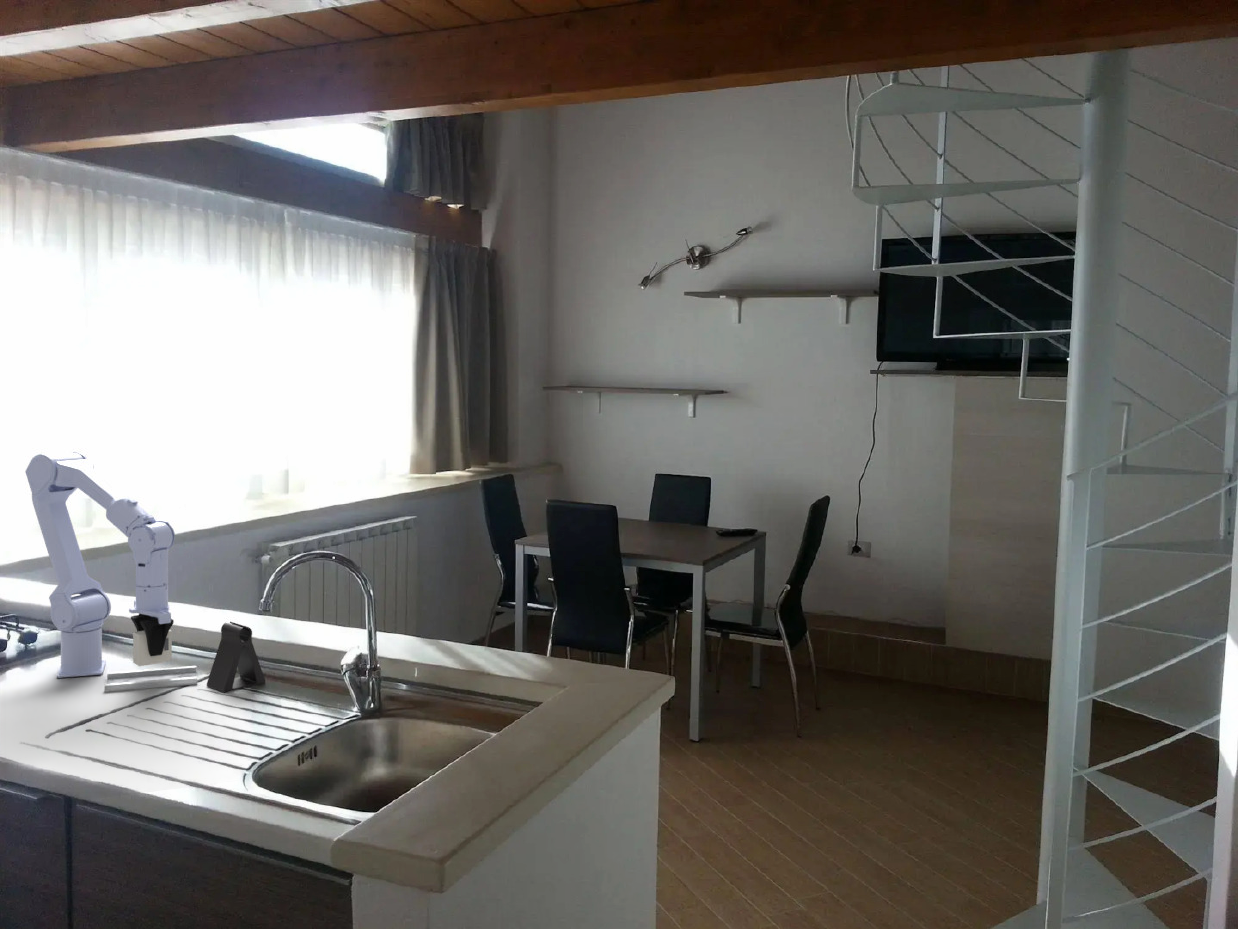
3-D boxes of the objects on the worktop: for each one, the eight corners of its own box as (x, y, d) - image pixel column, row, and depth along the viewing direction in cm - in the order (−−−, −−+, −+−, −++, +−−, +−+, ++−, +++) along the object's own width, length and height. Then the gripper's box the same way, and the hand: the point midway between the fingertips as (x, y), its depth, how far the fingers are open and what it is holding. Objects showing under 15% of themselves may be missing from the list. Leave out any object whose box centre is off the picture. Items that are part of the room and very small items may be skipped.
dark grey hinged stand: (223, 693, 186) (223, 631, 185) (206, 686, 189) (206, 625, 188) (265, 683, 193) (266, 623, 192) (248, 676, 197) (248, 618, 196)
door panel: (133, 662, 190) (133, 632, 190) (165, 657, 194) (165, 627, 194) (139, 666, 188) (139, 635, 187) (171, 661, 192) (171, 631, 191)
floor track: (107, 678, 192) (107, 672, 192) (196, 671, 199) (196, 665, 199) (104, 692, 184) (104, 685, 184) (197, 684, 191) (197, 678, 190)
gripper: (117, 580, 192) (118, 648, 193) (143, 593, 182) (143, 664, 183) (155, 576, 197) (155, 642, 198) (182, 588, 187) (182, 658, 188)
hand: (152, 653), depth 191 cm, fingers closed on door panel, 3 cm apart
